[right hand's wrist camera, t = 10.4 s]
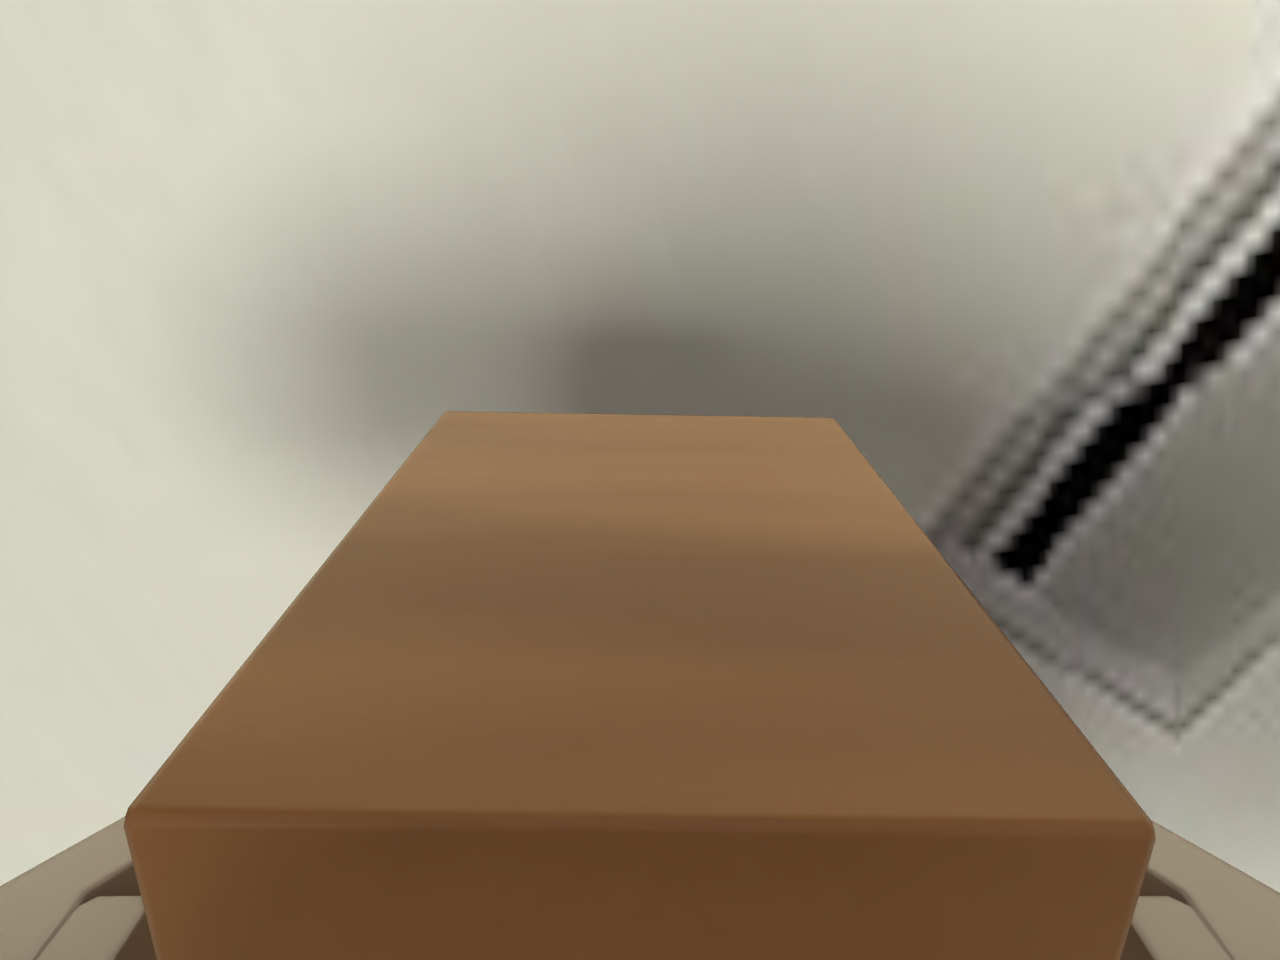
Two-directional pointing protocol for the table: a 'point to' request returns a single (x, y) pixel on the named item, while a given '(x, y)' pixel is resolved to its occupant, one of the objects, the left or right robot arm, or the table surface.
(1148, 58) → the table surface
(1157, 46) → the table surface
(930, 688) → the bar
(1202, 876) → the right robot arm
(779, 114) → the table surface
